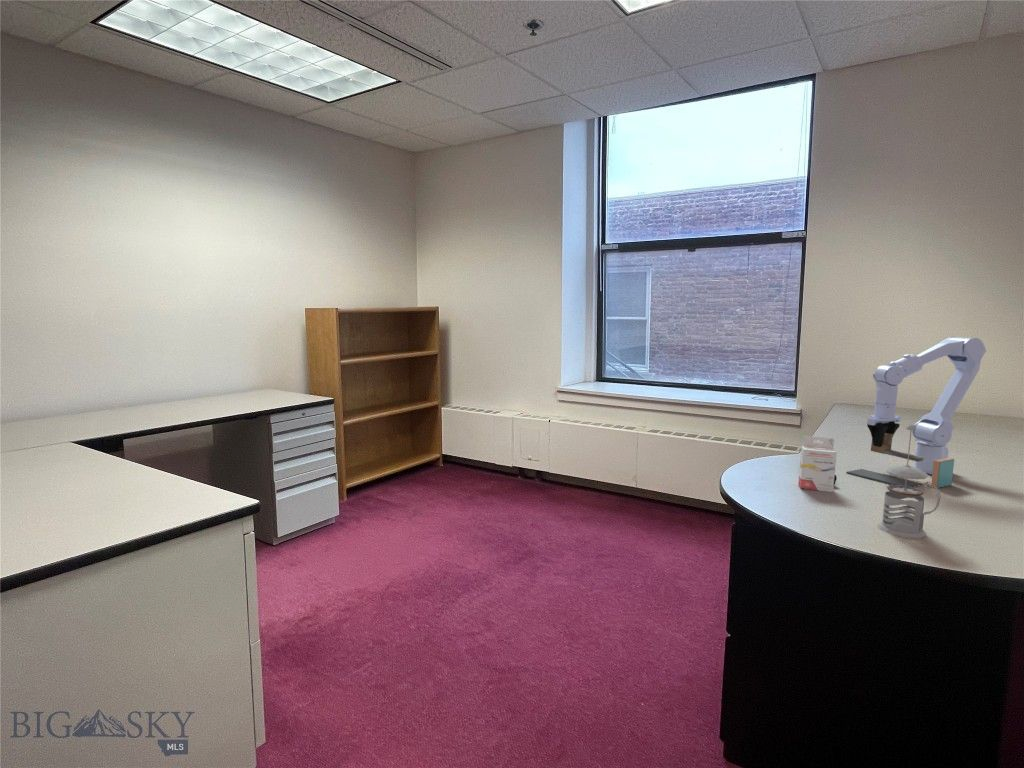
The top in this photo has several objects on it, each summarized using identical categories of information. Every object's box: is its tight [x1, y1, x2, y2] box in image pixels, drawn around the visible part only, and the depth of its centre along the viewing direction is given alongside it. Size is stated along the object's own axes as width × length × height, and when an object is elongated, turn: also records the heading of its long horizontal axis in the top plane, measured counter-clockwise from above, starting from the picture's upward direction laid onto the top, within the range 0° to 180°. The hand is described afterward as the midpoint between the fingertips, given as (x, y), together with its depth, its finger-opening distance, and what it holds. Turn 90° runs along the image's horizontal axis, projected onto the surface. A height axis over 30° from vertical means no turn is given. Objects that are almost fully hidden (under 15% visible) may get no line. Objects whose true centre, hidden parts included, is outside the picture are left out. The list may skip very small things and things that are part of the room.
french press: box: [876, 424, 942, 539], centre depth 136 cm, size 10×12×25 cm
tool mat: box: [845, 468, 923, 488], centre depth 181 cm, size 8×18×1 cm, turn 28°
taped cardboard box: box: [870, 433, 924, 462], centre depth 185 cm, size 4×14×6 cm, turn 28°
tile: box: [930, 457, 955, 489], centre depth 174 cm, size 8×2×8 cm, turn 119°
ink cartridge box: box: [797, 435, 837, 493], centre depth 170 cm, size 9×5×15 cm, turn 71°
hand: (881, 445), depth 190 cm, fingers closed on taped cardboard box, 4 cm apart
